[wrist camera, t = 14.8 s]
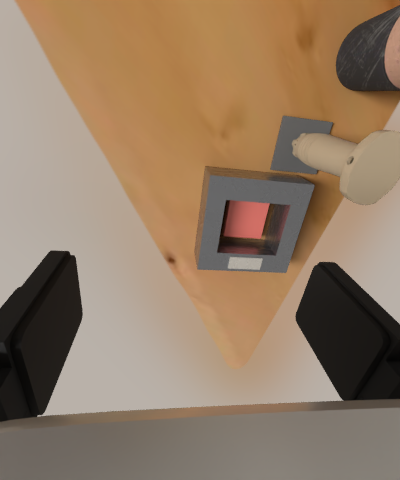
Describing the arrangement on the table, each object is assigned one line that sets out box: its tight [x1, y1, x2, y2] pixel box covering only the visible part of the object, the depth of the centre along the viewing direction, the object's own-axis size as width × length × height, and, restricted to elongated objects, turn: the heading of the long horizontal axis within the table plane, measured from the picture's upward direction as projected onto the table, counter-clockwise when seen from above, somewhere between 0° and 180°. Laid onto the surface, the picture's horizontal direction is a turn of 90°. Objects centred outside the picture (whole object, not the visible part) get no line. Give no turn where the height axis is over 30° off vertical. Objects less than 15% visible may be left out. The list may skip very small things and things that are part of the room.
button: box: [222, 200, 270, 239], centre depth 39 cm, size 6×6×1 cm
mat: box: [270, 116, 333, 174], centre depth 36 cm, size 7×7×1 cm
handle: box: [292, 130, 400, 205], centre depth 29 cm, size 5×6×15 cm
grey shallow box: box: [195, 166, 315, 273], centre depth 38 cm, size 14×14×5 cm
